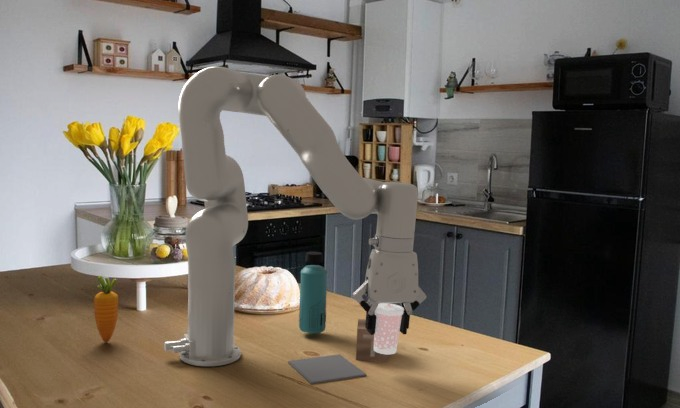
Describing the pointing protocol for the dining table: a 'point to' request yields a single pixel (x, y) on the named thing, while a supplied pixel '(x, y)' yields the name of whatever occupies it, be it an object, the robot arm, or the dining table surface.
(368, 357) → the letter cube
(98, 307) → the carrot
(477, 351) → the dining table surface
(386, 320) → the beverage cup
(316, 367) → the grey mat
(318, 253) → the beverage bottle
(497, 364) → the dining table surface
